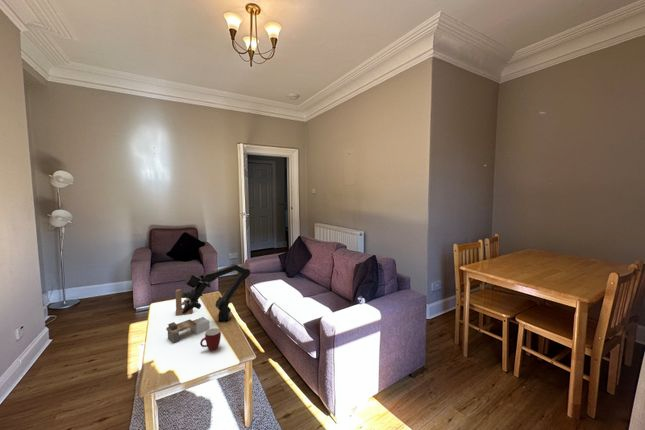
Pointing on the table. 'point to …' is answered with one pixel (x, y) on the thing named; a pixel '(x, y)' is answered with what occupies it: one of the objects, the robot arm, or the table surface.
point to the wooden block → (180, 304)
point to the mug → (212, 339)
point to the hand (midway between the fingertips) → (182, 313)
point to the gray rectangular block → (200, 326)
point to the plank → (180, 326)
